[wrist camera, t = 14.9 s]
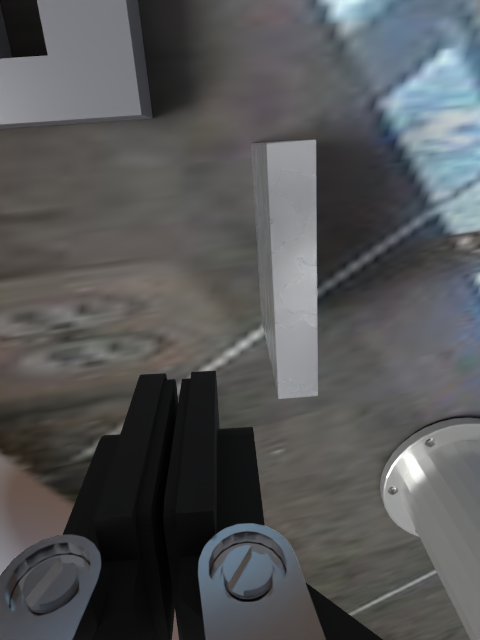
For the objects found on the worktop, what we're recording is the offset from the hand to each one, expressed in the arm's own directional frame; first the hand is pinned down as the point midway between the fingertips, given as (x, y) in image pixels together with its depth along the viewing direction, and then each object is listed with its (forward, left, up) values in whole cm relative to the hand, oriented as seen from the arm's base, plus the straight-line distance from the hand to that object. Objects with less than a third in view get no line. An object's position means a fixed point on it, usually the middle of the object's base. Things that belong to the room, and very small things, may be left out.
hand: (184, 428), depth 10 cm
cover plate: (-4, 0, -22) cm, 22 cm away
